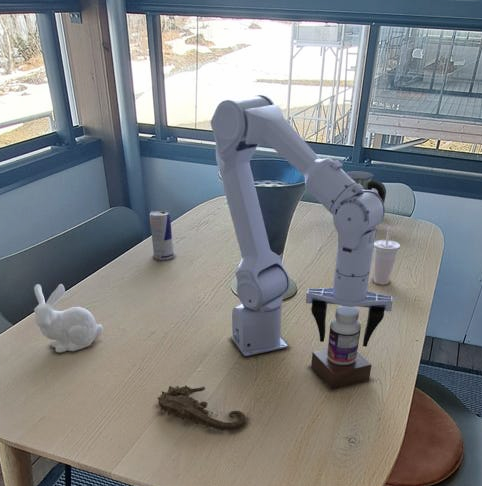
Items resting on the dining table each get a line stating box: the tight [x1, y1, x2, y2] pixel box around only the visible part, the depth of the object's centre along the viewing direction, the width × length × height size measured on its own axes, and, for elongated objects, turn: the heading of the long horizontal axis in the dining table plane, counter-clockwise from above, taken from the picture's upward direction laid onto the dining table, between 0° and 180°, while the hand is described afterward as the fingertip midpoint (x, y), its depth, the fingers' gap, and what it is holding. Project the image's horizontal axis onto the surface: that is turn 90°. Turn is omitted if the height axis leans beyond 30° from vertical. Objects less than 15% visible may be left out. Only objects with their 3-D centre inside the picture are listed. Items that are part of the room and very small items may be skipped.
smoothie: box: [373, 226, 401, 286], centre depth 129 cm, size 6×6×14 cm
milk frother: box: [345, 170, 387, 204], centre depth 168 cm, size 14×16×15 cm
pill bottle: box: [327, 305, 362, 365], centre depth 94 cm, size 5×5×10 cm
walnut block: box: [310, 348, 372, 391], centre depth 98 cm, size 8×8×4 cm
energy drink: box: [149, 209, 174, 261], centre depth 142 cm, size 5×5×12 cm
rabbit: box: [33, 283, 104, 354], centre depth 105 cm, size 12×9×12 cm
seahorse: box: [156, 384, 247, 431], centre depth 89 cm, size 9×16×3 cm, turn 48°
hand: (343, 341), depth 95 cm, fingers open, 7 cm apart
